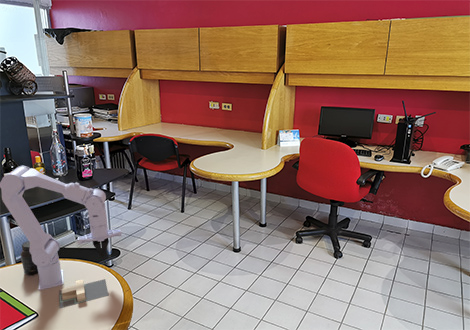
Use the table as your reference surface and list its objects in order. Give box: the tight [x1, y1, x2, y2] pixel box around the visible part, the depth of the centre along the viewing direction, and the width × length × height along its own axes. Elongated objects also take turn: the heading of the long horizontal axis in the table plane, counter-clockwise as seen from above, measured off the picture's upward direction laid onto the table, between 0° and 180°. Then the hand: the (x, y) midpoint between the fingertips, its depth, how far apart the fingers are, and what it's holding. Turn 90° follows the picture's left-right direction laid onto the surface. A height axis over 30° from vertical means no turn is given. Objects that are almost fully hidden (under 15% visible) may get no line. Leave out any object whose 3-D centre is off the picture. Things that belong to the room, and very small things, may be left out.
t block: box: [61, 278, 86, 302], centre depth 120 cm, size 8×7×3 cm
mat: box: [58, 278, 109, 310], centre depth 122 cm, size 10×16×1 cm, turn 116°
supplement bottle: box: [20, 240, 39, 277], centre depth 132 cm, size 7×7×12 cm
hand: (102, 256), depth 128 cm, fingers closed
